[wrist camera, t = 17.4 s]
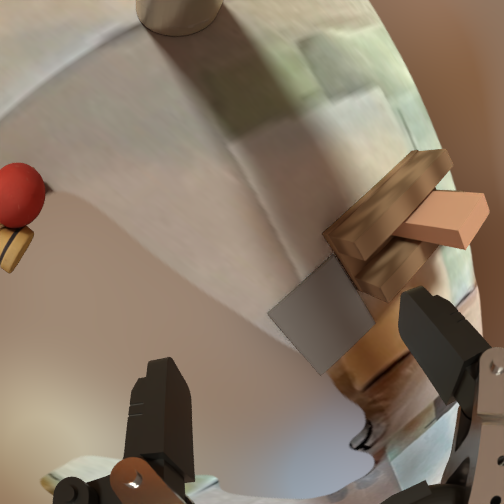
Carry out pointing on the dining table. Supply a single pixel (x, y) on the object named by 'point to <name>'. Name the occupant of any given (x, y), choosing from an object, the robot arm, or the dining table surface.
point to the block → (446, 219)
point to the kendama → (18, 210)
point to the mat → (323, 316)
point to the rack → (388, 226)
